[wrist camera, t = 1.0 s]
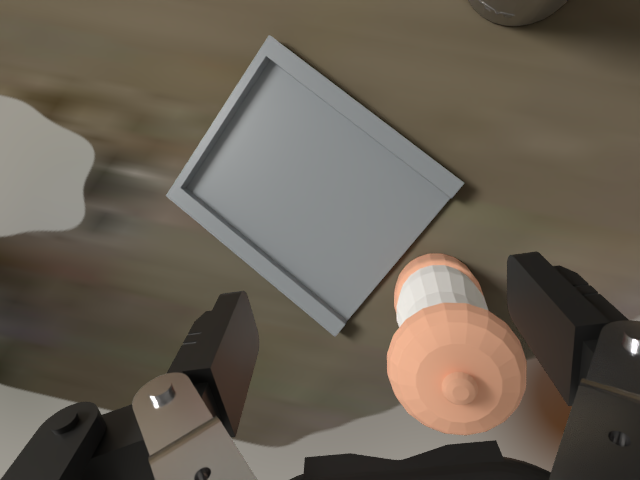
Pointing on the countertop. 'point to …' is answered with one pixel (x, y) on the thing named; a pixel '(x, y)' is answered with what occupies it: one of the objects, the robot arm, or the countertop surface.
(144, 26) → the countertop surface
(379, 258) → the tray
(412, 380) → the pepper shaker
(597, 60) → the countertop surface
